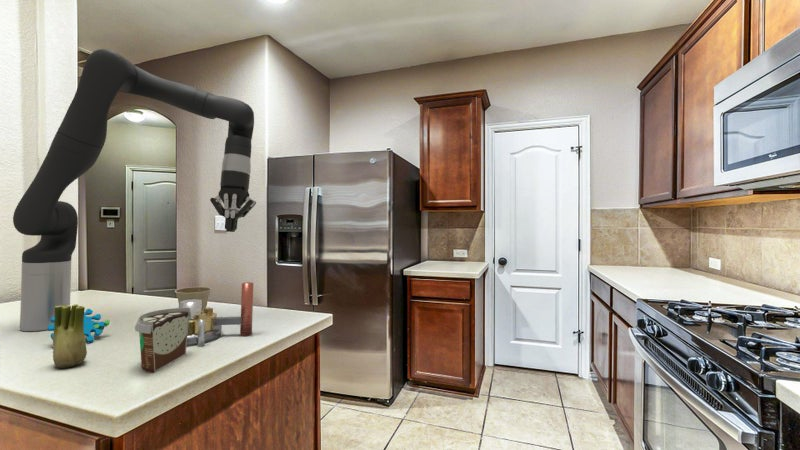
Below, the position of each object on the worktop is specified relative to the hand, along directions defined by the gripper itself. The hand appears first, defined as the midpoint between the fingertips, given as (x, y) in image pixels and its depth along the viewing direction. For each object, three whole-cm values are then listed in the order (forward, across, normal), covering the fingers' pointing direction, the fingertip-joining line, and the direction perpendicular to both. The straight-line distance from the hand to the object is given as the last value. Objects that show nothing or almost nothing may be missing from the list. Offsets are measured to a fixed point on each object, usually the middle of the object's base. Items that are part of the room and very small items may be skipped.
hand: (230, 231), depth 100 cm
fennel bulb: (+29, -14, -29) cm, 44 cm away
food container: (+29, +1, -26) cm, 39 cm away
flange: (+27, -2, -10) cm, 29 cm away
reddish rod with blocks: (+27, +2, -9) cm, 29 cm away
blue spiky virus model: (+28, -25, -17) cm, 41 cm away
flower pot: (+26, -12, +5) cm, 29 cm away
